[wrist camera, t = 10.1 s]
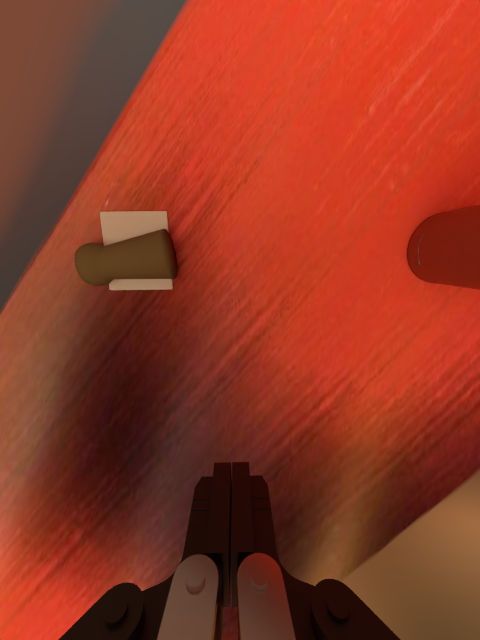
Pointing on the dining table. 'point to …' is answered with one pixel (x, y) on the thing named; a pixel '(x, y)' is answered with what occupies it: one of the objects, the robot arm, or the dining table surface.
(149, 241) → the cork
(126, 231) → the mat
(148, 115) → the dining table surface
